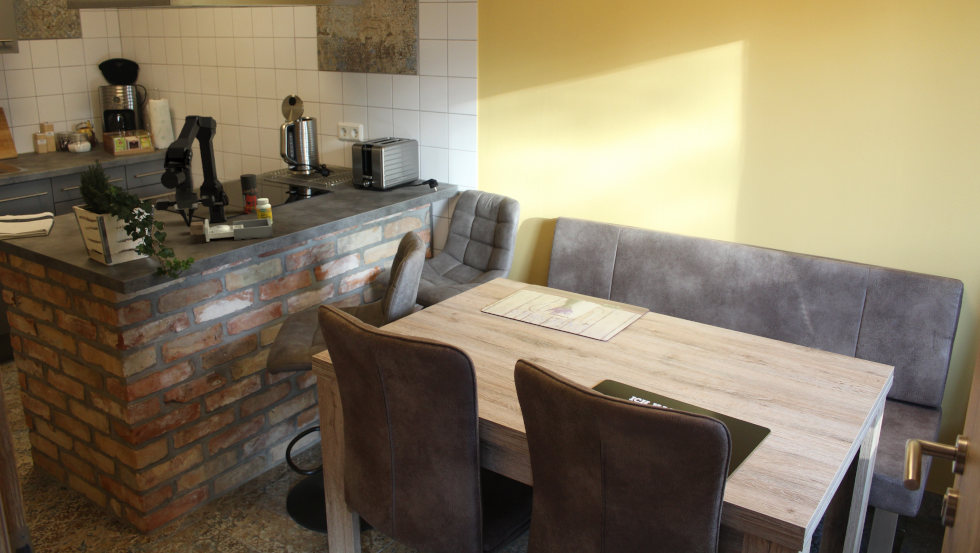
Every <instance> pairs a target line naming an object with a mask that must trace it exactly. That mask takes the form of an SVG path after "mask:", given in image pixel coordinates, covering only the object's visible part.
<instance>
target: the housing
mask: <svg viewBox="0 0 980 553" xmlns="http://www.w3.org/2000/svg"><path fill="white" fill-rule="evenodd" d="M233 225H243V228H237V229H233V231H234V241H242V240H241V239H246V240H252V239H251V238H258V239H268V238H274V234H273V223H272V224H271V221H270V218H268V219H258V218H257V219H256V218H255V219H246V220H245V219H244V220H233V221H232V226H233Z"/></svg>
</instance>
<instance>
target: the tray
mask: <svg viewBox="0 0 980 553" xmlns="http://www.w3.org/2000/svg"><path fill="white" fill-rule="evenodd" d="M228 226H229V228H230V232H220V233H212V229H211V227H212V226H211V227H210V223H209V218H206V219H204V234H203V235H205V241H206V242H210V239H221V238H233V237H234V231H233V229H237V228H243V225H233V224H232V225H228Z"/></svg>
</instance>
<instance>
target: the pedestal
mask: <svg viewBox="0 0 980 553" xmlns="http://www.w3.org/2000/svg"><path fill="white" fill-rule="evenodd" d="M204 230H205V224H204V221H193V222H192V221H191V226H190V227H189V233H190V236H195V235H194V234H196V235H205V234H204Z"/></svg>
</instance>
